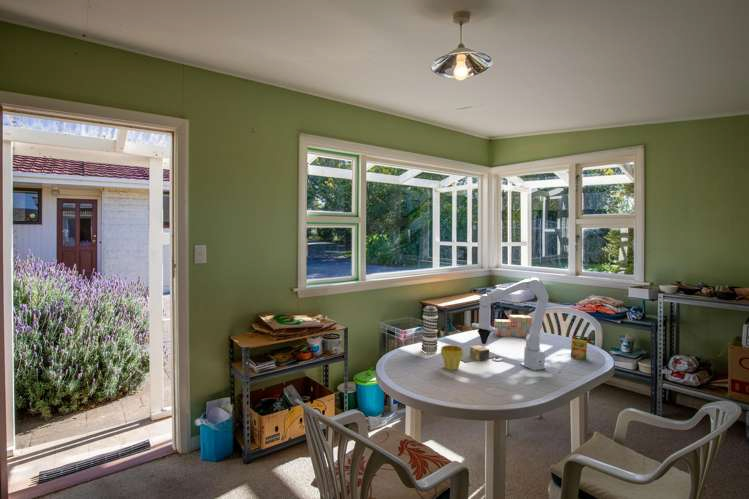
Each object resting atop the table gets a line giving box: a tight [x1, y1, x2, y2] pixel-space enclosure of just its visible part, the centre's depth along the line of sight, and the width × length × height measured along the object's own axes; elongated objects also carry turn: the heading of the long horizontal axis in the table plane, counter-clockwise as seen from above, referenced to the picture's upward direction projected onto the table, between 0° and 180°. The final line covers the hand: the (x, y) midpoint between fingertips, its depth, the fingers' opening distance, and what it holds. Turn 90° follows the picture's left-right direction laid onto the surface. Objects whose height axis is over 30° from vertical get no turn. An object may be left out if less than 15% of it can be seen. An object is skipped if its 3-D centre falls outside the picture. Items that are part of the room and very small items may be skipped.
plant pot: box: [440, 344, 463, 371], centre depth 206 cm, size 10×10×10 cm
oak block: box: [470, 344, 490, 361], centre depth 220 cm, size 5×6×8 cm
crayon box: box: [570, 334, 588, 361], centre depth 221 cm, size 7×3×12 cm, turn 62°
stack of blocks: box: [493, 314, 533, 338], centre depth 262 cm, size 21×6×12 cm, turn 87°
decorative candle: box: [421, 305, 440, 354], centre depth 228 cm, size 9×9×25 cm
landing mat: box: [460, 347, 500, 364], centre depth 226 cm, size 18×22×1 cm
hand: (484, 343), depth 216 cm, fingers closed
